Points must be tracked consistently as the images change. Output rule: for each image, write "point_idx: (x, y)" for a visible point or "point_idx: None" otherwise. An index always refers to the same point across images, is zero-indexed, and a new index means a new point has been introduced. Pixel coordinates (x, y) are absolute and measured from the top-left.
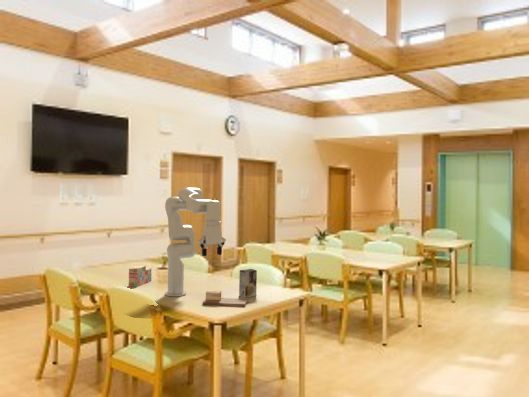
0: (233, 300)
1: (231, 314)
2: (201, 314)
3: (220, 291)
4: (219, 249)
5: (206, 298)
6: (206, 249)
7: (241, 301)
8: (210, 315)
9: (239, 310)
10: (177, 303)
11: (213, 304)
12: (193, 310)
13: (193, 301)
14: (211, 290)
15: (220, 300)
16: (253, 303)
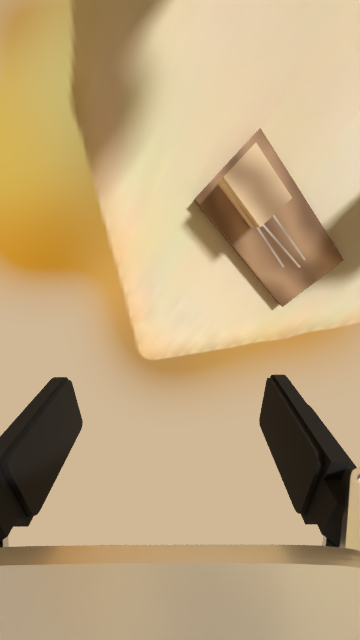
0: (296, 244)
1: (197, 342)
2: (131, 301)
3: (280, 207)
4: (289, 471)
5: (220, 186)
6: (34, 512)
7: (304, 272)
8: (147, 321)
9: (240, 324)
10: (125, 111)
11: (220, 231)
12: (132, 250)
13: (196, 121)
14: (265, 160)
15: None
16: (332, 285)
